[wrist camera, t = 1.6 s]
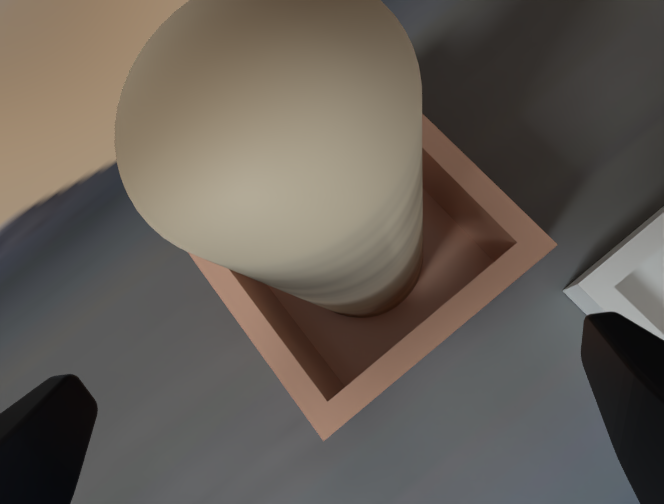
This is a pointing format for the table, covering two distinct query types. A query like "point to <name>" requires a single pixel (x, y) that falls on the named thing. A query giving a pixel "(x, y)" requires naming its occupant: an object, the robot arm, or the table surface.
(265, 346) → the cup holder
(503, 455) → the table surface
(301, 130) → the beech cylinder
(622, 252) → the grey tray
